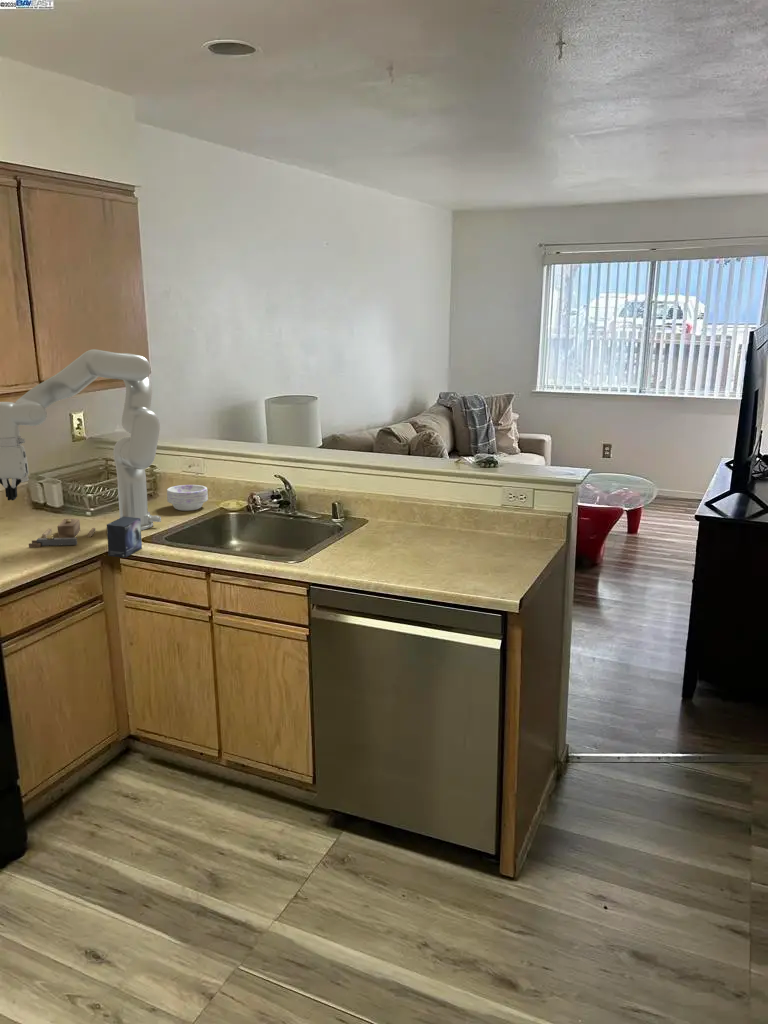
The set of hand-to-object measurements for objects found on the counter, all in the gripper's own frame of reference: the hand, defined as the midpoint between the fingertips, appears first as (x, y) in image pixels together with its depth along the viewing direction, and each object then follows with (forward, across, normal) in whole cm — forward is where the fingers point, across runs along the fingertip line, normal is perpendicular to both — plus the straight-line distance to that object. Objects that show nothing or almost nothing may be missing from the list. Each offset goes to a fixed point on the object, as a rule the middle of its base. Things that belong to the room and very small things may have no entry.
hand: (12, 499), depth 248 cm
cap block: (+15, -14, -12) cm, 24 cm away
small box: (+15, -36, +9) cm, 40 cm away
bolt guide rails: (+15, -14, -12) cm, 24 cm away
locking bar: (+15, -13, 0) cm, 20 cm away
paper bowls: (+15, -50, -46) cm, 69 cm away
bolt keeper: (+15, -6, 0) cm, 17 cm away
